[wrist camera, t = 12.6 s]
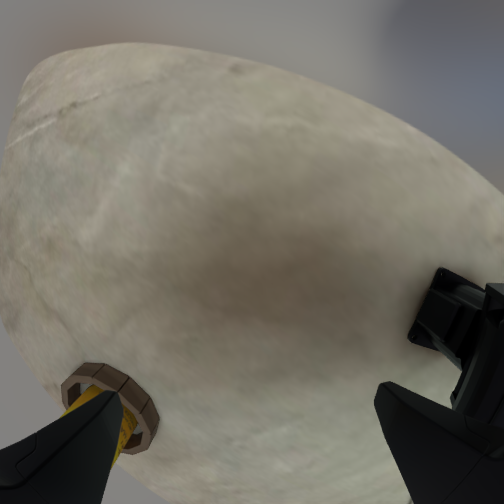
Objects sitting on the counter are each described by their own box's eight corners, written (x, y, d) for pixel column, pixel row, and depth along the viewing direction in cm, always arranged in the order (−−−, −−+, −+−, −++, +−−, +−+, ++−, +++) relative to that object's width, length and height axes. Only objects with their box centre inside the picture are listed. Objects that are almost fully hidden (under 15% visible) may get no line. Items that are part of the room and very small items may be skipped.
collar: (166, 393, 22) (157, 410, 19) (151, 451, 23) (144, 466, 21) (74, 345, 22) (60, 356, 19) (74, 410, 23) (64, 422, 21)
